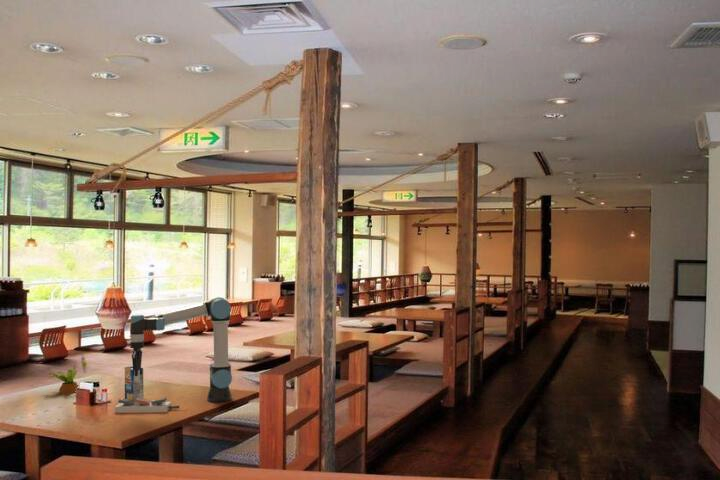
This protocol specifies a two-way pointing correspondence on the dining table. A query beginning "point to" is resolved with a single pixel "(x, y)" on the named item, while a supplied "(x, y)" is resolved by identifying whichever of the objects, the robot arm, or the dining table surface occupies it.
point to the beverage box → (133, 384)
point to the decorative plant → (69, 379)
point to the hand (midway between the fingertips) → (136, 381)
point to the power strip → (144, 407)
